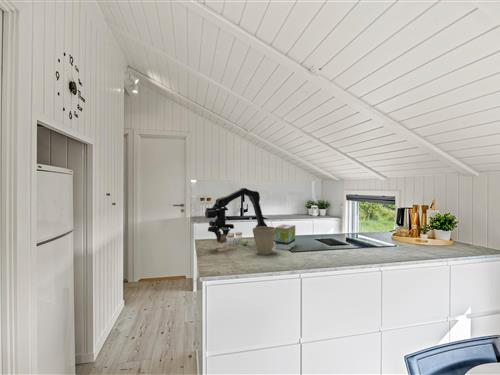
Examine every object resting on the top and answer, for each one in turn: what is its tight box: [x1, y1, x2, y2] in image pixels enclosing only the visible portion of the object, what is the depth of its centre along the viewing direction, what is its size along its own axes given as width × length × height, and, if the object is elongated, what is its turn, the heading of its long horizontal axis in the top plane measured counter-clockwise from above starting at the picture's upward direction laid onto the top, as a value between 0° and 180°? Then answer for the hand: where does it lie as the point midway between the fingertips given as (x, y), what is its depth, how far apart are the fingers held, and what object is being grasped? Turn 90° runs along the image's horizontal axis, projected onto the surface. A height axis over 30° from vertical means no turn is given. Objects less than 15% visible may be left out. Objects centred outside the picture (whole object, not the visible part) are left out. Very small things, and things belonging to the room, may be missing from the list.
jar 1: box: [226, 234, 235, 247], centre depth 201 cm, size 5×5×8 cm
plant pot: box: [252, 226, 276, 256], centre depth 181 cm, size 15×15×16 cm
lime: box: [241, 238, 249, 246], centre depth 204 cm, size 4×4×4 cm
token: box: [216, 233, 227, 244], centre depth 190 cm, size 4×4×5 cm
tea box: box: [274, 224, 296, 251], centre depth 197 cm, size 15×10×15 cm, turn 154°
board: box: [211, 245, 236, 253], centre depth 193 cm, size 10×12×1 cm
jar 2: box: [235, 231, 243, 245], centre depth 209 cm, size 5×5×8 cm
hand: (221, 240), depth 190 cm, fingers closed on token, 4 cm apart
